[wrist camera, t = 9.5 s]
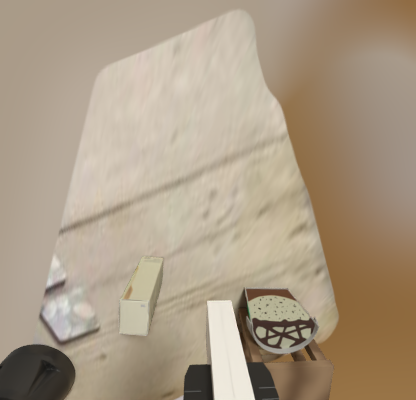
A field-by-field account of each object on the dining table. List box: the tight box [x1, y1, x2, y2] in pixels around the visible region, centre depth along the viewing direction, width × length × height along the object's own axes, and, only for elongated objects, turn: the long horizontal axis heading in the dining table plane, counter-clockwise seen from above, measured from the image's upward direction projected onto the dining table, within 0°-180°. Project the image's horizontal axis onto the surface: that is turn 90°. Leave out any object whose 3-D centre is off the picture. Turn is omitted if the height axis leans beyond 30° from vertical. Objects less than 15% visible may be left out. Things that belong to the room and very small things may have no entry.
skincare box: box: [119, 256, 163, 336], centre depth 35 cm, size 6×4×12 cm
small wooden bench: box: [239, 308, 334, 400], centre depth 39 cm, size 13×8×13 cm, turn 90°
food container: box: [245, 288, 319, 354], centre depth 39 cm, size 12×6×10 cm, turn 87°
